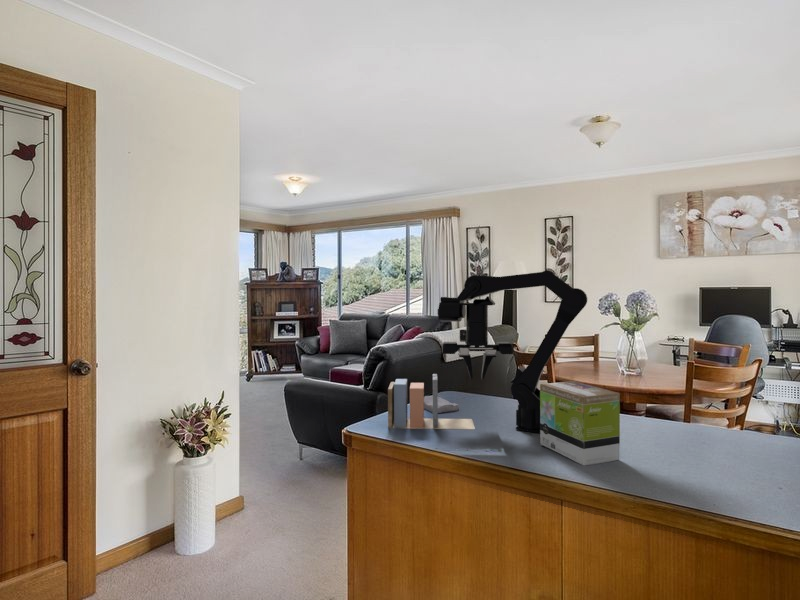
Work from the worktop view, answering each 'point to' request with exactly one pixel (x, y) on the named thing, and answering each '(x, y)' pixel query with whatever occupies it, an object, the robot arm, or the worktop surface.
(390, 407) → the wooden book rack
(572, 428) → the tea box
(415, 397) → the book
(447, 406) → the stone block
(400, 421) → the book
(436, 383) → the grey flat rectangular panel
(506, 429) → the worktop surface
